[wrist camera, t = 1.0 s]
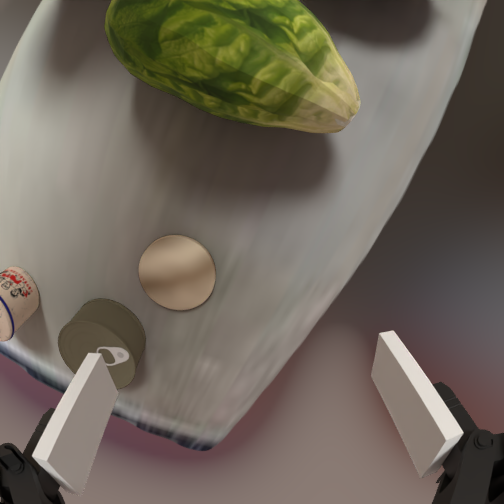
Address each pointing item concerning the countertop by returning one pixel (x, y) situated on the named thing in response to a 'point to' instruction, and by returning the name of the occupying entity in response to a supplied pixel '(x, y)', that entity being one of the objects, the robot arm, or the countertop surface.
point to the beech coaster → (177, 272)
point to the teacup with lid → (16, 300)
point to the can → (104, 339)
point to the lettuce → (238, 59)
